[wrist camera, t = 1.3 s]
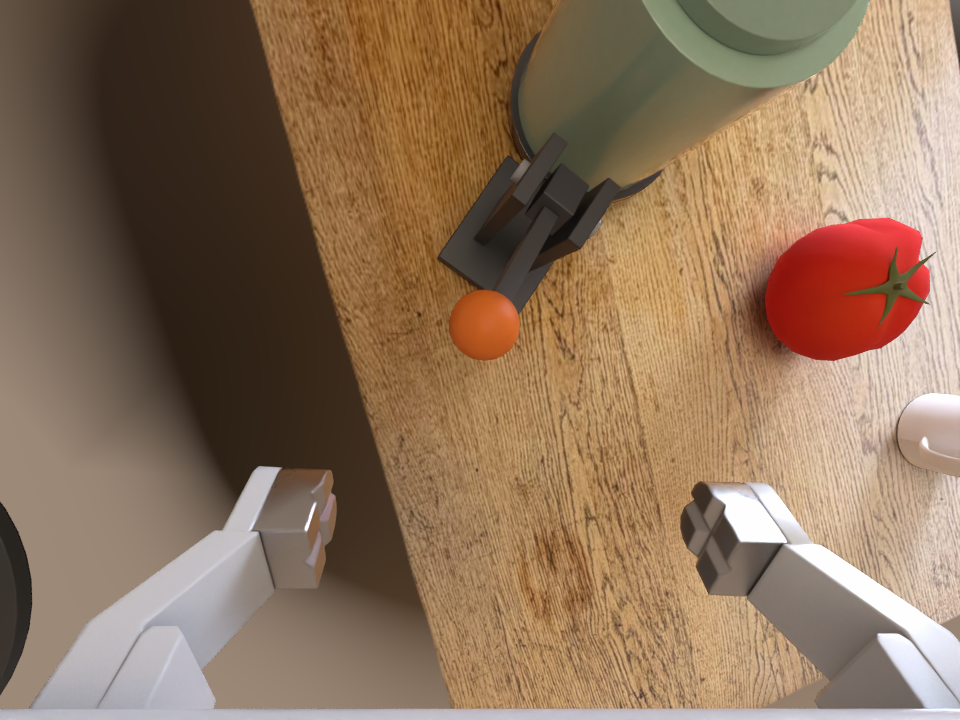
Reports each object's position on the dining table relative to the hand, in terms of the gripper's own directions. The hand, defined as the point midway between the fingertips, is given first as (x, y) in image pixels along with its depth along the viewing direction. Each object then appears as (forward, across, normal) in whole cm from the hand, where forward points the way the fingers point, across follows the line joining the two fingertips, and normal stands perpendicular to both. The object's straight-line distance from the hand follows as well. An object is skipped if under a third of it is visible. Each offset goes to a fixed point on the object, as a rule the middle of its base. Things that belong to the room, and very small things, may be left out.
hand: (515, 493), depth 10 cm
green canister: (+37, -10, -5) cm, 39 cm away
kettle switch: (+19, -2, +2) cm, 19 cm away
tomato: (+33, -31, +8) cm, 46 cm away
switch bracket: (+31, -3, +4) cm, 31 cm away
